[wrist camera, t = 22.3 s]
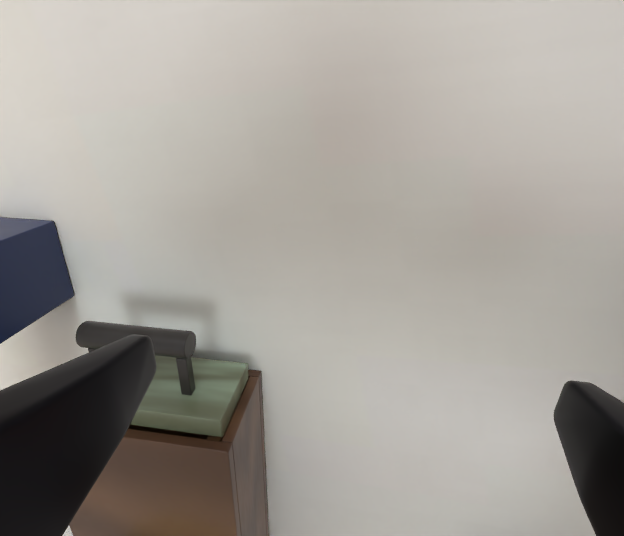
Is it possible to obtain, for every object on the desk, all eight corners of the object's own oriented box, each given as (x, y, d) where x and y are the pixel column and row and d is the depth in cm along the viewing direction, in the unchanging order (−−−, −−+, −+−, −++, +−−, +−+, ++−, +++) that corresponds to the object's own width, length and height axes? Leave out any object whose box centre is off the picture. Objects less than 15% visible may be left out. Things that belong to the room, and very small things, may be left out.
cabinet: (103, 352, 25) (27, 423, 20) (261, 370, 24) (228, 452, 18) (148, 525, 33) (103, 611, 28) (269, 546, 32) (248, 641, 26)
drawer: (85, 293, 22) (21, 337, 18) (244, 308, 21) (213, 358, 17) (146, 521, 31) (112, 585, 27) (259, 540, 30) (241, 610, 26)
